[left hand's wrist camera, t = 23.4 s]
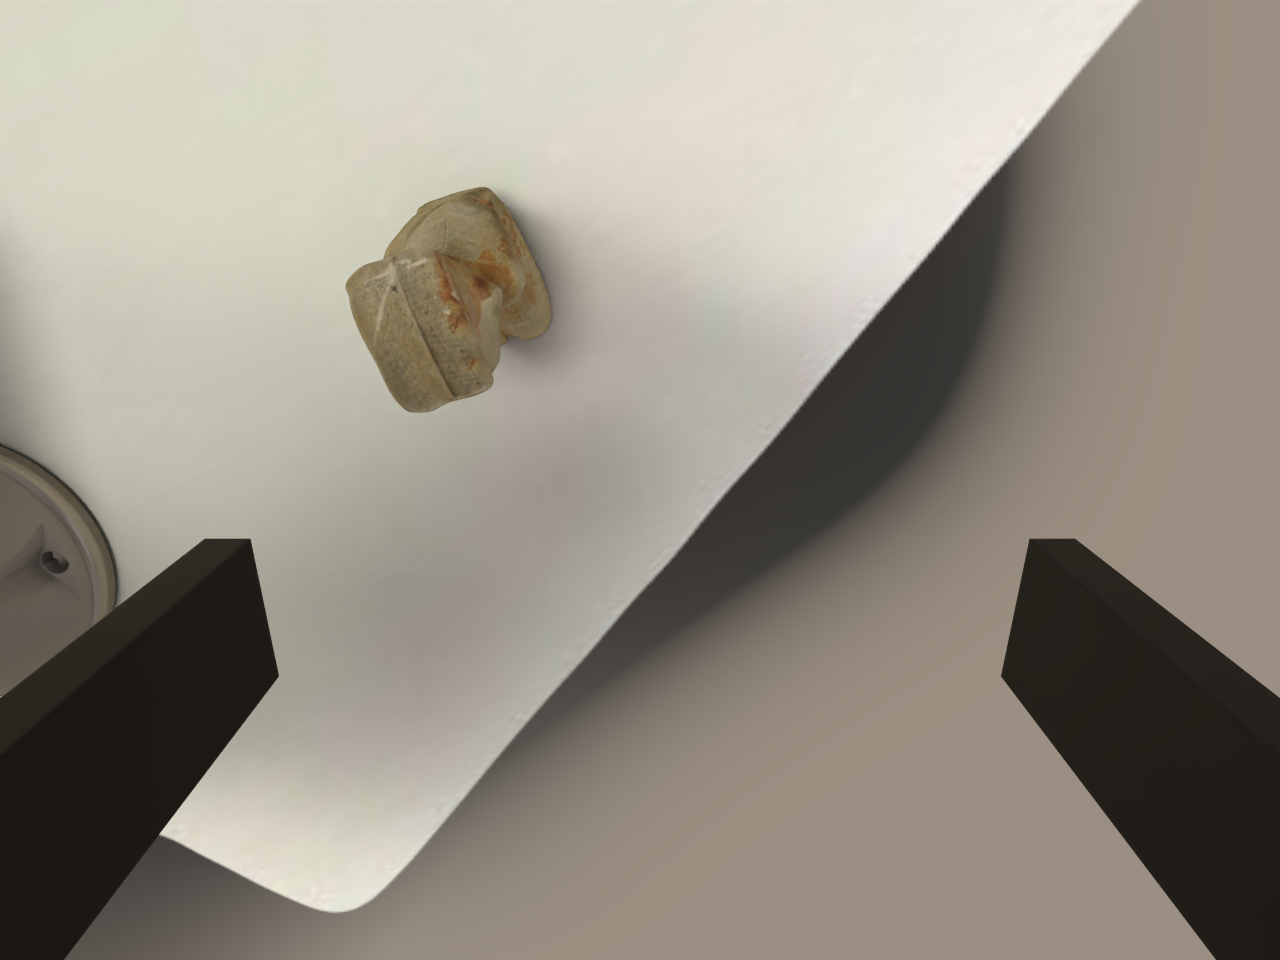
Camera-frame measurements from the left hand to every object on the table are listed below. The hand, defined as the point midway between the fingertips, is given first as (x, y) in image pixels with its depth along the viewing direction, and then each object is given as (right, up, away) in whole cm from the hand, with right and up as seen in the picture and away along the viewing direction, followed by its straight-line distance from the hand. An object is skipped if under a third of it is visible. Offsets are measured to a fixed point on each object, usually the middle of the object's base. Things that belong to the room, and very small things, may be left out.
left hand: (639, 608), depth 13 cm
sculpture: (-7, +13, +24) cm, 28 cm away
